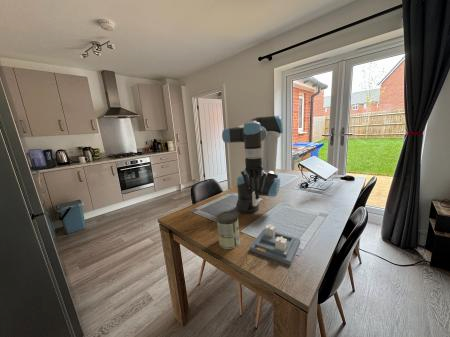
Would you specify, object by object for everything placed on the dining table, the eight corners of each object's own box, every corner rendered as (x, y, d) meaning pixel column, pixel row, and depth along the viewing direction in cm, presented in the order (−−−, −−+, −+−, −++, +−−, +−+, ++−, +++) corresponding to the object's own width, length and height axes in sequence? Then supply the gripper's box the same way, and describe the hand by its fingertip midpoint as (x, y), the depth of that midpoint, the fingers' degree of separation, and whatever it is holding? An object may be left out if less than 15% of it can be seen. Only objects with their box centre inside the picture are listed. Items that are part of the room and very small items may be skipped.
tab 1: (265, 236, 88) (264, 226, 86) (267, 233, 90) (267, 223, 89) (273, 239, 85) (273, 228, 84) (275, 235, 88) (275, 225, 86)
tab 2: (275, 250, 78) (275, 238, 77) (277, 246, 80) (277, 234, 79) (284, 253, 76) (284, 241, 74) (286, 249, 78) (286, 237, 77)
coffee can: (218, 237, 94) (216, 212, 91) (238, 235, 94) (236, 210, 91) (218, 250, 84) (216, 223, 81) (241, 248, 84) (239, 221, 81)
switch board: (249, 250, 82) (249, 244, 81) (263, 232, 95) (263, 226, 94) (290, 265, 72) (290, 258, 71) (300, 242, 85) (300, 236, 84)
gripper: (236, 158, 83) (239, 205, 89) (263, 159, 76) (264, 211, 81) (244, 155, 89) (247, 199, 95) (270, 156, 82) (271, 204, 87)
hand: (255, 204), depth 88 cm, fingers closed
